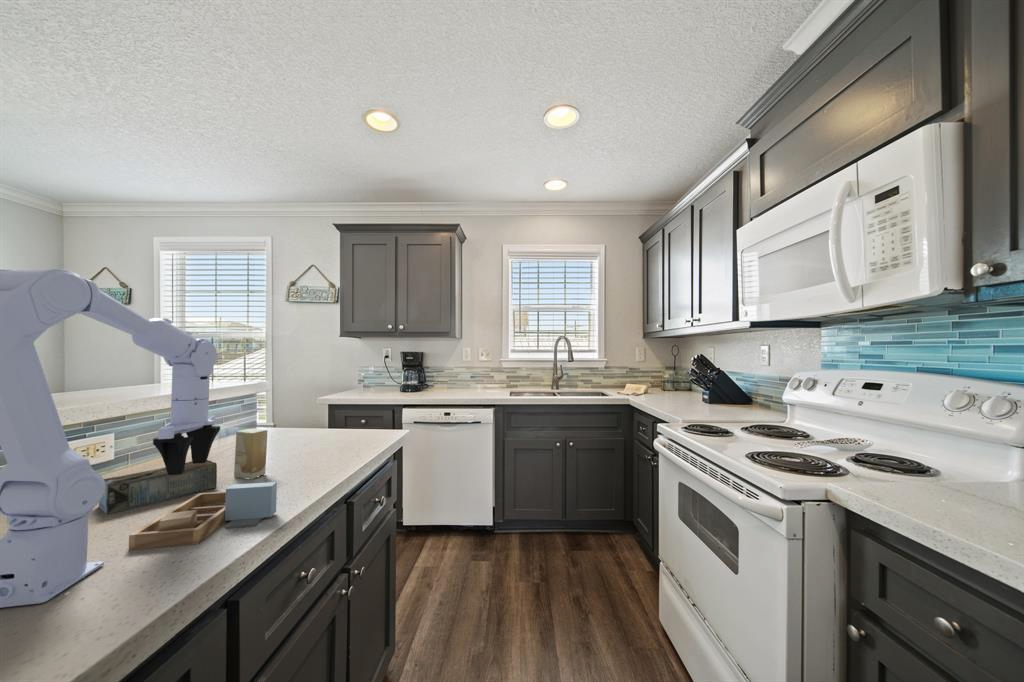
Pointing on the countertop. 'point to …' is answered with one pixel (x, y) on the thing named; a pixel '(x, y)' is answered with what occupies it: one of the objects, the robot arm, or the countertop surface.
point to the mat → (243, 523)
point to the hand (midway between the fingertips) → (188, 468)
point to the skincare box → (250, 453)
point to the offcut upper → (178, 520)
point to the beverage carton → (156, 486)
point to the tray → (155, 538)
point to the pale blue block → (250, 501)
